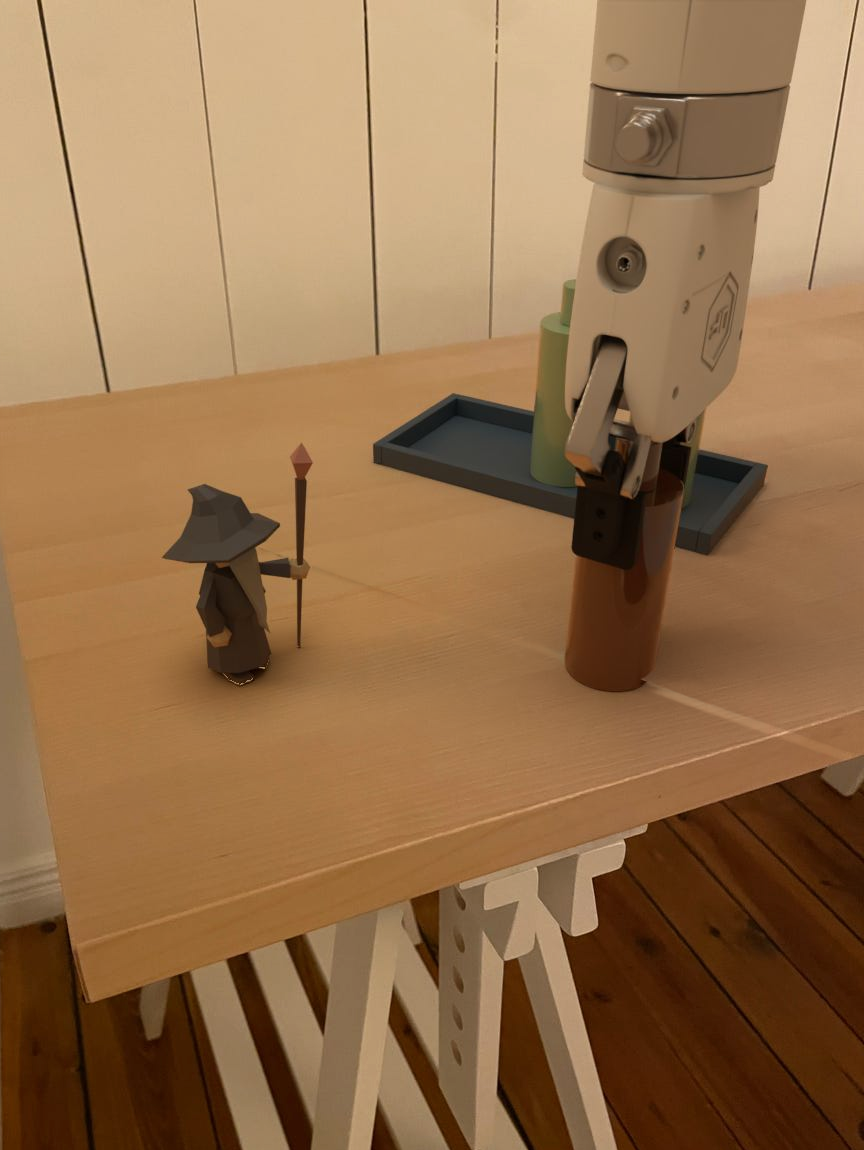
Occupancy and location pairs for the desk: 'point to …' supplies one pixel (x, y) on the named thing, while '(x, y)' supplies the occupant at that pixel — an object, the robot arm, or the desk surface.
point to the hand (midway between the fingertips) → (626, 532)
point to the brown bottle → (626, 592)
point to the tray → (502, 469)
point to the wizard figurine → (239, 572)
